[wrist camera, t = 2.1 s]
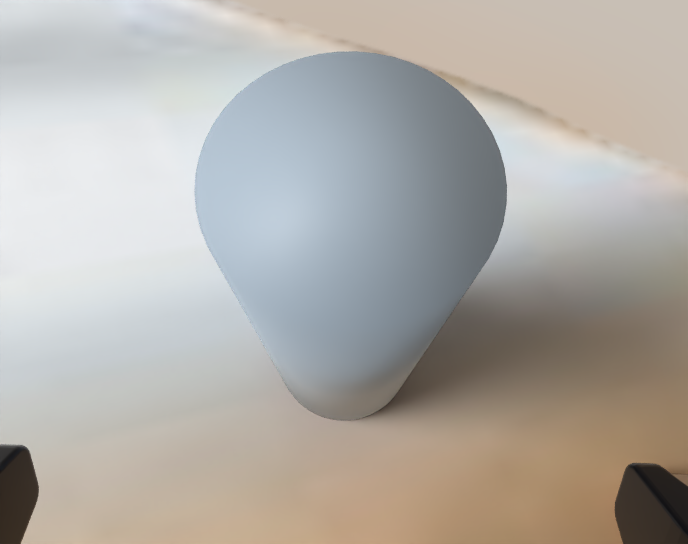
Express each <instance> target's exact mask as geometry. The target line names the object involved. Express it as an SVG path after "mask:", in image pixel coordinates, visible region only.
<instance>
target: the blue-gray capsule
mask: <svg viewBox="0 0 688 544" xmlns="http://www.w3.org/2000/svg"><path fill="white" fill-rule="evenodd" d="M506 201H507V184H506V176H505V168H504V164H503V161H502V157H501V153H500V150H499V148H498V145H497V143H496V141H495V138H494V136H493V134H492V132H491V130H490V129H489V127H488V125H487V124H486V122H485V120H484V119H483V117H482V116H481V115H480V114H479V112H478V111H477V110H476V109H475V107H474V106H473V105H472V104H471V103H470V102H469V101H468V100H467V99H466V98H465V97H464V96H463V95H462V94H461V93H460V92H459V91H458V90H457V89H455V88H454V87H453V86H451V85H450V84H449V83H448V82H446V81H445V80H444V79H442V78H440V77H438V76H437V75H435V74H433V73H432V72H430V71H428V70H426V69H424V68H422V67H420V66H417V65H415V64H413V63H410V62H407V61H404V60H401V59H398V58H395V57H391V56H386V55H381V54H376V53H367V52H332V53H324V54H317V55H313V56H309V57H305V58H301V59H298V60H295V61H292V62H289V63H287V64H284V65H282V66H280V67H278V68H276V69H274V70H272V71H270V72H268V73H266V74H264V75H263V76H261V77H260V78H258V79H256V80H255V81H253V82H252V83H250V84H249V85H248V86H247V87H246V88H244V89H243V90H242V91H241V92H240V93H239V94H237V95H236V96H235V97H234V99H233V100H232V101H231V102H230V103H229V104H228V105H227V106H226V107H225V108H224V110H223V111H222V112H221V114H220V115H219V117H218V118H217V119H216V121H215V122H214V124H213V126H212V128H211V130H210V132H209V133H208V135H207V137H206V139H205V142H204V145H203V147H202V150H201V153H200V156H199V160H198V165H197V170H196V177H195V202H196V212H197V216H198V220H199V224H200V229H201V231H202V234H203V236H204V239H205V241H206V244H207V246H208V248H209V250H210V252H211V254H212V255H213V257H214V259H215V261H216V262H217V264H218V266H219V268H220V269H221V271H222V273H223V275H224V276H225V278H226V280H227V282H228V284H229V285H230V287H231V289H232V291H233V292H234V294H235V296H236V298H237V299H238V301H239V303H240V305H241V306H242V308H243V310H244V312H245V314H246V315H247V317H248V319H249V321H250V322H251V324H252V326H253V328H254V329H255V331H256V333H257V335H258V336H259V338H260V340H261V342H262V343H263V345H264V347H265V349H266V351H267V352H268V354H269V356H270V358H271V359H272V361H273V363H274V365H275V366H276V368H277V370H278V372H279V373H280V375H281V377H282V379H283V381H284V382H285V384H286V386H287V388H288V389H289V391H290V392H291V394H292V395H293V396H294V398H295V399H296V400H297V401H298V402H299V403H300V404H301V405H303V406H304V407H305V408H307V409H308V410H309V411H311V412H313V413H315V414H317V415H319V416H322V417H325V418H329V419H333V420H354V419H360V418H363V417H366V416H369V415H371V414H373V413H375V412H377V411H378V410H380V409H382V408H383V407H384V406H385V405H387V404H388V403H389V402H390V401H391V400H392V399H393V398H394V396H395V395H396V394H397V392H398V391H399V389H400V388H401V386H402V385H403V384H404V382H405V381H406V379H407V378H408V376H409V375H410V373H411V372H412V370H413V369H414V367H415V366H416V364H417V363H418V361H419V360H420V359H421V357H422V356H423V354H424V353H425V351H426V350H427V348H428V347H429V345H430V344H431V342H432V341H433V339H434V338H435V336H436V335H437V334H438V332H439V331H440V329H441V328H442V326H443V325H444V323H445V322H446V320H447V319H448V317H449V316H450V314H451V313H452V311H453V310H454V309H455V307H456V306H457V304H458V303H459V301H460V300H461V298H462V297H463V295H464V294H465V292H466V291H467V289H468V288H469V286H470V285H471V284H472V282H473V281H474V279H475V278H476V276H477V275H478V273H479V272H480V270H481V269H482V267H483V266H484V264H485V263H486V262H487V260H488V259H489V257H490V255H491V253H492V251H493V249H494V247H495V245H496V243H497V241H498V238H499V235H500V231H501V228H502V225H503V222H504V216H505V210H506Z"/></svg>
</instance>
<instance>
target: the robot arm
mask: <svg viewBox="0 0 688 544" xmlns="http://www.w3.org/2000/svg"><path fill="white" fill-rule="evenodd" d="M38 493H39V486H38V481H37V477H36V474H35V470H34V466H33V462H32V459H31V455H30V452H29V450H28V449H27V447H25V446H23V445H6V444H1V445H0V544H21V541H22V539H23V536H24V534H25V531H26V528H27V526H28V523H29V521H30V518H31V515H32V513H33V510H34V508H35V505H36V502H37V499H38ZM615 517H616V521H617V524H618V528H619V531H620V535H621V538H622V541H623V544H688V486H687V485H686V484H684V483H683V482H682V481H680V480H679V479H678V478H676V477H675V476H674V475H672V474H671V473H670V472H668V471H667V470H666V469H664V468H663V467H661V466H660V465H657V464H650V463H632V464H629V465H628V466H627V467H626V469H625V472H624V475H623V478H622V482H621V485H620V488H619V491H618V495H617V498H616V501H615Z"/></svg>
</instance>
